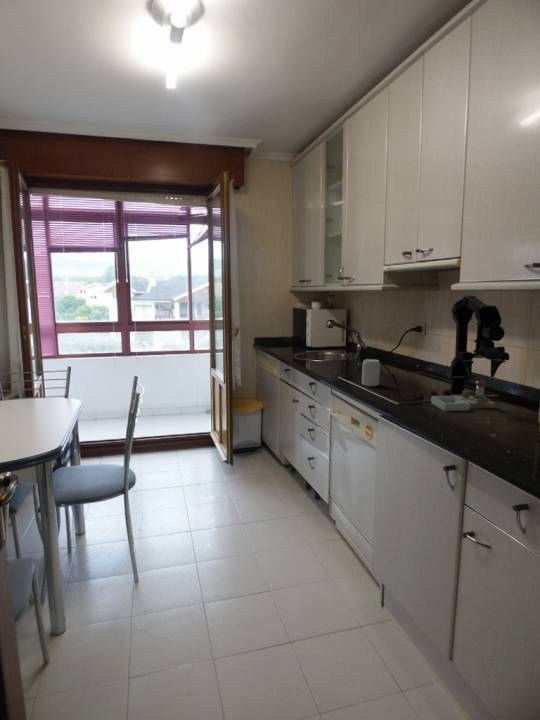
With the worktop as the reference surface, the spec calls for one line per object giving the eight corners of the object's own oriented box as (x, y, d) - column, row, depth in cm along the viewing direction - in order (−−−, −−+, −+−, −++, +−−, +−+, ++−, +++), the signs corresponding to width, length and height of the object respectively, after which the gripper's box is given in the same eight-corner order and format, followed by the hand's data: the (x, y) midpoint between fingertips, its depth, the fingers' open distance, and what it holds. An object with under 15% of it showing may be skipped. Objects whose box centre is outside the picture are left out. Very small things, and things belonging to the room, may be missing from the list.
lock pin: (471, 400, 181) (473, 380, 180) (481, 400, 181) (482, 380, 180) (476, 402, 177) (478, 382, 176) (486, 402, 177) (488, 382, 176)
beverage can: (371, 382, 222) (372, 358, 220) (382, 385, 215) (383, 361, 213) (358, 384, 218) (359, 359, 216) (368, 387, 211) (370, 362, 209)
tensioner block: (453, 399, 190) (454, 388, 189) (476, 399, 191) (477, 388, 190) (470, 408, 176) (471, 397, 175) (494, 408, 177) (495, 396, 176)
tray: (430, 402, 184) (431, 396, 184) (454, 402, 185) (455, 395, 184) (444, 410, 172) (444, 403, 172) (469, 410, 173) (469, 403, 173)
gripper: (471, 340, 166) (468, 381, 169) (520, 340, 168) (515, 381, 170) (457, 337, 177) (454, 375, 180) (502, 337, 179) (499, 375, 181)
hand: (480, 377), depth 178 cm, fingers open, 9 cm apart
